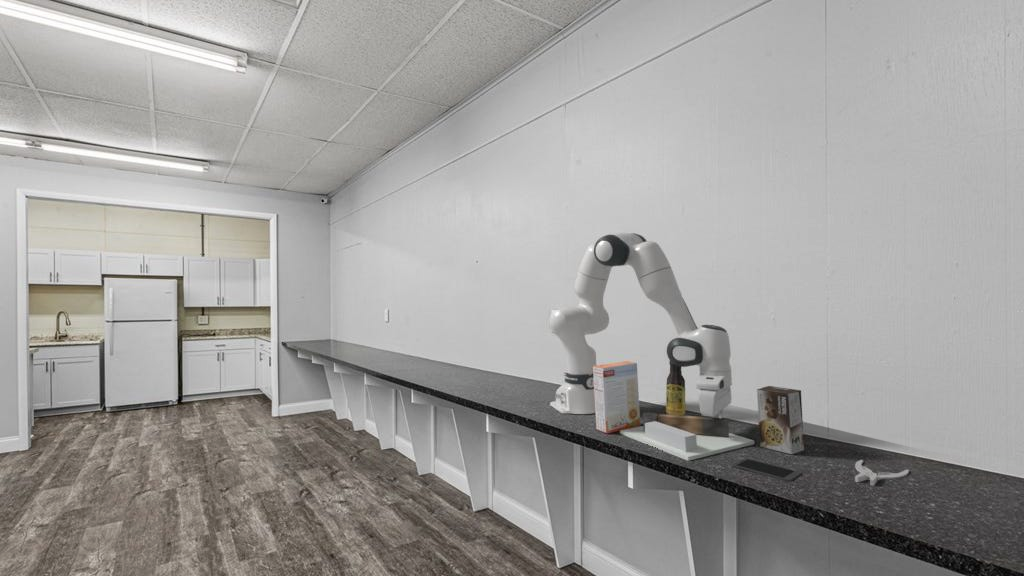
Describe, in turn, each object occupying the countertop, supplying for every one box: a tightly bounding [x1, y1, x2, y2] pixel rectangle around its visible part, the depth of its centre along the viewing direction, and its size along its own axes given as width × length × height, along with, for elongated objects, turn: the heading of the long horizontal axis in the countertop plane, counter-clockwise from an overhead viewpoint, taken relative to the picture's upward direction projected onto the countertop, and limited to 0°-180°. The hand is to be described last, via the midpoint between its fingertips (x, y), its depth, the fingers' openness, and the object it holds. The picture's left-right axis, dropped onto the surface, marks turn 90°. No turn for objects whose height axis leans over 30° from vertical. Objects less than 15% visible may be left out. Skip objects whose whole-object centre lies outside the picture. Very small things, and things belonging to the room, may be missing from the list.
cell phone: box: [731, 457, 803, 483], centre depth 117 cm, size 7×14×1 cm, turn 38°
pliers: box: [854, 459, 910, 487], centre depth 112 cm, size 10×2×15 cm
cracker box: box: [593, 361, 641, 434], centre depth 156 cm, size 14×6×21 cm, turn 117°
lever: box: [642, 412, 730, 437], centre depth 145 cm, size 24×4×4 cm, turn 65°
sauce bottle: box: [665, 360, 686, 416], centre depth 166 cm, size 6×6×20 cm
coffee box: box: [756, 385, 805, 455], centre depth 132 cm, size 9×6×16 cm
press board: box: [619, 421, 755, 462], centre depth 143 cm, size 28×25×5 cm
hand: (717, 424), depth 146 cm, fingers closed
